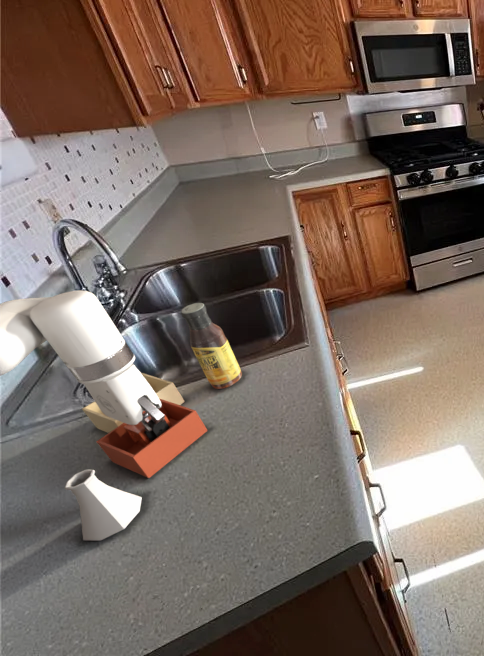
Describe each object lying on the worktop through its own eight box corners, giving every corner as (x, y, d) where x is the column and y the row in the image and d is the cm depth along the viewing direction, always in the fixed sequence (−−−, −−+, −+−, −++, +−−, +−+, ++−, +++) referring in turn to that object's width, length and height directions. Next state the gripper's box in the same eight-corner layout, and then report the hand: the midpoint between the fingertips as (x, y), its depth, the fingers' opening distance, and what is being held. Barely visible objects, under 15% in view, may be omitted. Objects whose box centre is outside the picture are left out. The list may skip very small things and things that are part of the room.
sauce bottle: (205, 389, 92) (163, 315, 83) (228, 370, 97) (191, 298, 88) (229, 392, 90) (188, 317, 81) (251, 373, 96) (215, 300, 86)
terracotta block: (135, 444, 77) (123, 427, 74) (161, 425, 80) (149, 408, 78) (151, 450, 75) (138, 433, 73) (176, 431, 79) (165, 414, 76)
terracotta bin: (112, 462, 76) (95, 441, 74) (172, 418, 85) (159, 398, 82) (148, 478, 72) (132, 457, 70) (207, 430, 81) (195, 410, 78)
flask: (73, 549, 62) (32, 508, 58) (101, 505, 68) (66, 465, 64) (128, 533, 64) (92, 493, 59) (151, 491, 70) (120, 452, 65)
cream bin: (97, 428, 84) (81, 408, 81) (153, 391, 93) (141, 372, 90) (129, 441, 80) (114, 421, 78) (184, 401, 89) (173, 382, 86)
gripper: (47, 366, 69) (106, 441, 77) (106, 387, 63) (163, 466, 71) (99, 339, 75) (149, 412, 83) (158, 356, 69) (205, 432, 78)
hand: (155, 436), depth 77 cm, fingers closed on terracotta block, 4 cm apart
